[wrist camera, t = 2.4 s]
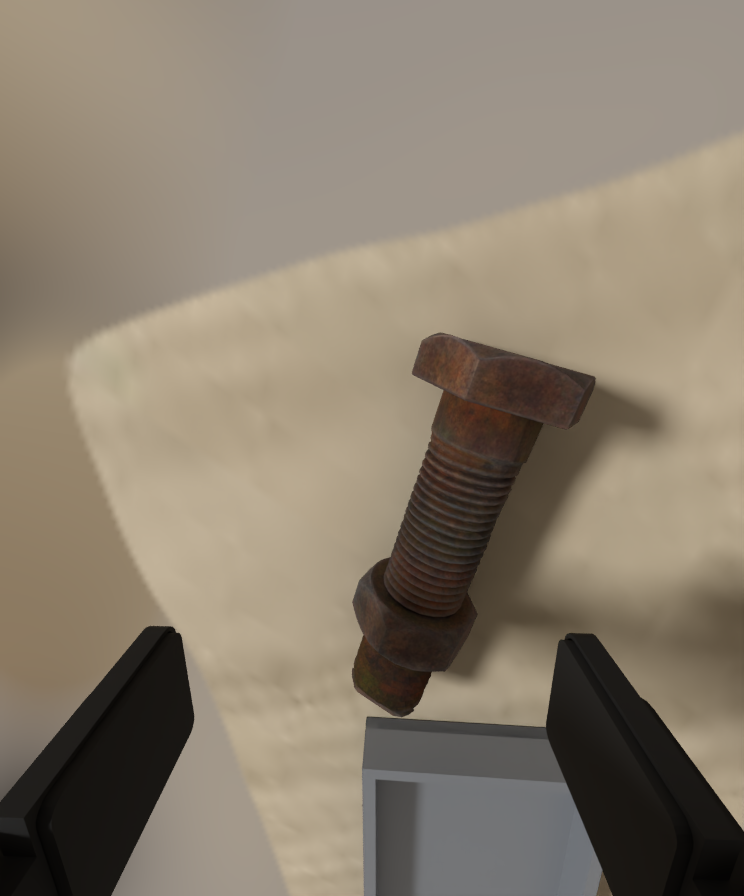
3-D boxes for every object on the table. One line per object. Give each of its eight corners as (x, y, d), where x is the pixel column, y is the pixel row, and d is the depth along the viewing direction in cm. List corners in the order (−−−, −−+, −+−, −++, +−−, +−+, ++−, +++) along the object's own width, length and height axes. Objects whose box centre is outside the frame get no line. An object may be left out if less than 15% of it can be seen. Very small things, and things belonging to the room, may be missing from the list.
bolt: (374, 620, 21) (470, 341, 16) (458, 683, 18) (601, 378, 14) (297, 690, 16) (403, 320, 11) (399, 788, 14) (587, 373, 9)
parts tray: (594, 730, 19) (622, 786, 17) (546, 968, 25) (561, 1035, 22) (366, 717, 20) (362, 768, 18) (368, 950, 25) (365, 1014, 23)
